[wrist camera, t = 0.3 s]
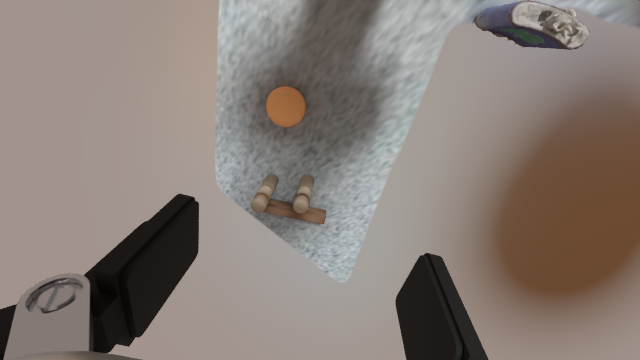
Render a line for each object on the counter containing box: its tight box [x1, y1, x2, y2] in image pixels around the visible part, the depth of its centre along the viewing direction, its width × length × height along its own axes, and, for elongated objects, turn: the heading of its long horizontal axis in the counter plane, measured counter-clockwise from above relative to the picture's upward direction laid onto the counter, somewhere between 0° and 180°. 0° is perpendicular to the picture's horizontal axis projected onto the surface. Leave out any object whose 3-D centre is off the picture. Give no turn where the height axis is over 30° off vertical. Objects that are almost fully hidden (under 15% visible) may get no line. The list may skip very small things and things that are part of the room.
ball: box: [266, 86, 306, 127], centre depth 40 cm, size 6×6×6 cm
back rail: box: [263, 199, 326, 224], centre depth 51 cm, size 12×2×2 cm, turn 79°
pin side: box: [251, 174, 278, 212], centre depth 46 cm, size 2×2×9 cm
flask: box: [475, 0, 589, 50], centre depth 31 cm, size 9×3×11 cm, turn 71°
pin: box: [293, 175, 314, 213], centre depth 45 cm, size 2×2×9 cm
